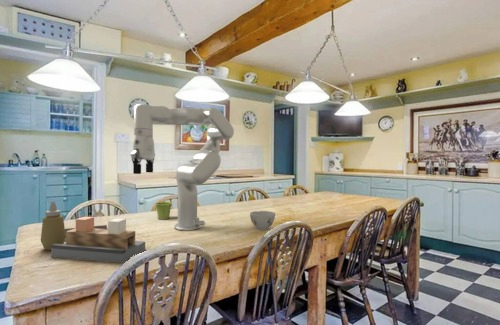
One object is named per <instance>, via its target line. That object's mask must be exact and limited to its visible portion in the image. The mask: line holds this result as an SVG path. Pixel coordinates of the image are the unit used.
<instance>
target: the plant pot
mask: <svg viewBox="0 0 500 325" xmlns="http://www.w3.org/2000/svg"><path fill="white" fill-rule="evenodd" d="M154 205H155V207H156V208H155V209H156V212H157V220H168V219H169V218H170V213H171V208H172V205H173V202H169V201H161V202H155V203H154Z"/></svg>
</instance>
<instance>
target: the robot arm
mask: <svg viewBox="0 0 500 325" xmlns="http://www.w3.org/2000/svg"><path fill="white" fill-rule="evenodd" d="M133 109H134V110H133V111H134V112H133V115H134V116H133V118H134V119H133V122H134V123H133V125H134V127H133V129H134V130H133V132H134V133H133V135H134V136H133V145H132V146H133V150H132V152H131V153H130V157H131V161H132V165H133V166H132V167H133V168H132V169H133V172H132V173H133V174H134V175H135V174H136V175H141V174H142V163H141V162H142V160H144V161H146V163H145V172H146V173H154V163H155V162H154V161H155V156H156V154H155V143H154V142H155V141H154V132H153V130H154V128H153V127H154V126H153V125H159V126H160V125H161V126H163V125H165V126H168V125H174V126H208V127H207V130H206V143H205V144H204V145H203V146H202V147H201V148H200V149H199V150H198V151H196V153H195V154H194V155H193V156H192V158H191V164H189V163H186V164H185V163H183V164H181V165H180V166H179V167H177V169H176V171H175V179H176V183H177V223H176V224H175V225H174V229H175V230H178V231H194V230H198V229H200V227H201V226H205V225H206V223H205V220H200V217H198V188H197V185H200V186H201V185H203V184H204V183H206V182H207V181H208V180H209V179H210V178H211V176H213V175H214V174H215V173H216V172H217V170H219V168H220V166H221V162H222V160H221V155H220V151H221V145H220V141H221V140H222V141H223V140H226V141H227V140H230V139H232V138H233V137H234V134H235V133H234V126H233V125H232V124H231V122H230V121H229V120H228V119H227V118H226V116H225V115H224V114H223V113H222V112H221V111H220V109H218V108H216V107H209V108H196V107H195V108H194V107H177V108H169V107H167V106H163V105H158V106H157V105H150V104H146V103H145V104H144V103H143V104H142V103H141V104H140V103H139V104H136V105H135V106H134V107H133ZM209 125H210V126H209Z"/></svg>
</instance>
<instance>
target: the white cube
mask: <svg viewBox="0 0 500 325" xmlns="http://www.w3.org/2000/svg"><path fill="white" fill-rule="evenodd" d="M107 229H108V234H120V233H123V232H125V231H126V230H127V218H113V219H110V220H108V221H107Z"/></svg>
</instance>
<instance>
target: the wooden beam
mask: <svg viewBox="0 0 500 325" xmlns="http://www.w3.org/2000/svg"><path fill="white" fill-rule="evenodd" d="M74 228H75V229H72V230H69V231H66V241H65V243H66V244H67V245H80V246H93V247H106V248H118V249H128V245H135V241H136V230H128V229H126V231H125V232H123V233H120V234H108V228H107V229H96V228H94V229H93V230H90V231H87V232H77V231H76V227H74Z"/></svg>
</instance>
